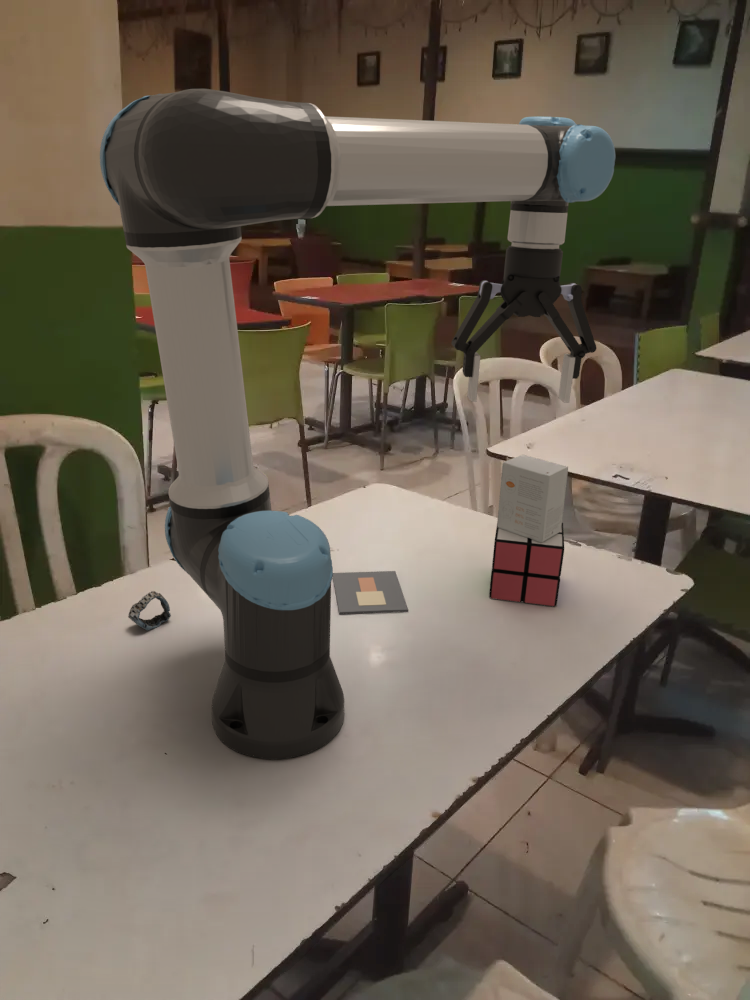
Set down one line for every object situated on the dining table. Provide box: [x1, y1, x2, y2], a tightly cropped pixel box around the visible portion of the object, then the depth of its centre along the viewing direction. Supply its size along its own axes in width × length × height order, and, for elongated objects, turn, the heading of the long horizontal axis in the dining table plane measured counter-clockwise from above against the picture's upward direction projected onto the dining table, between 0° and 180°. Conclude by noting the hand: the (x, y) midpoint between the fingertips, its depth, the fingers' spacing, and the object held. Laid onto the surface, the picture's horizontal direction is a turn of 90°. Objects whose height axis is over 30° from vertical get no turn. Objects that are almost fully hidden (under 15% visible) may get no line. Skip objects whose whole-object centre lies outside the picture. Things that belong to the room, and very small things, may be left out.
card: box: [332, 570, 409, 615], centre depth 118 cm, size 10×12×1 cm
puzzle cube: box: [488, 522, 565, 608], centre depth 119 cm, size 10×10×10 cm
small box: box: [496, 454, 569, 542], centre depth 115 cm, size 8×6×10 cm
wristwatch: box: [128, 590, 172, 632], centre depth 107 cm, size 3×5×5 cm
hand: (517, 400), depth 113 cm, fingers open, 13 cm apart
